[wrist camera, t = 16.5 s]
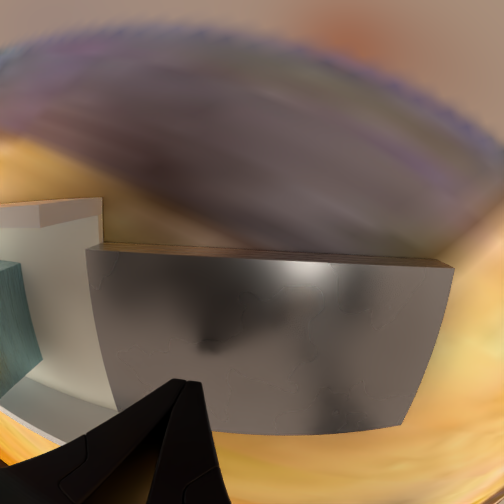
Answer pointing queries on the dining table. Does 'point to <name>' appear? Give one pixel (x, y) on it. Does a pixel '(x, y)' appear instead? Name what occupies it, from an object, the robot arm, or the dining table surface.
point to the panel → (269, 332)
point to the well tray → (58, 317)
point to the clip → (15, 328)
